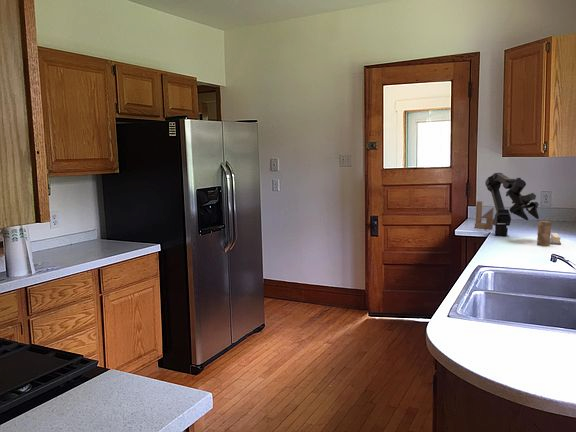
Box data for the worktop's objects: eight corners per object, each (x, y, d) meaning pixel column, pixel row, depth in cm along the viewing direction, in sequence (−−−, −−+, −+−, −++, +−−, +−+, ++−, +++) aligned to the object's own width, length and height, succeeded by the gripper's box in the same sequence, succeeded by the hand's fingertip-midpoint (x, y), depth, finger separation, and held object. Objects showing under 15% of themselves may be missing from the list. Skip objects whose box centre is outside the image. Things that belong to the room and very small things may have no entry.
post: (536, 245, 270) (538, 221, 269) (542, 244, 272) (543, 220, 271) (544, 246, 267) (546, 222, 265) (549, 245, 269) (551, 221, 267)
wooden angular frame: (491, 229, 324) (492, 202, 322) (474, 228, 330) (475, 201, 328) (492, 229, 327) (494, 201, 325) (475, 227, 333) (476, 200, 331)
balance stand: (540, 243, 274) (540, 236, 274) (538, 239, 289) (538, 232, 289) (561, 244, 271) (561, 237, 270) (557, 240, 285) (557, 233, 285)
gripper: (515, 189, 273) (532, 211, 265) (537, 187, 282) (554, 209, 274) (502, 201, 280) (518, 224, 273) (523, 199, 290) (539, 221, 282)
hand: (533, 219), depth 275 cm, fingers open, 9 cm apart
